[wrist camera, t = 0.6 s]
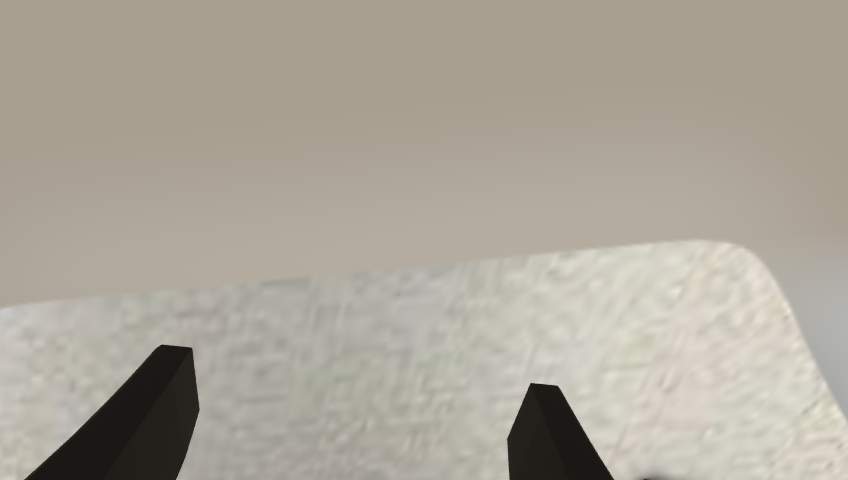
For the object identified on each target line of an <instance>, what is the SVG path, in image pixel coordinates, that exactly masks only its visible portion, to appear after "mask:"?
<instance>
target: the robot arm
mask: <svg viewBox="0 0 848 480" xmlns="http://www.w3.org/2000/svg"><path fill="white" fill-rule="evenodd" d="M199 410H200V409H199V401H198V393H197V385H196V376H195V368H194V360H193V351H192V348H190V347H180V346H170V345H160V346H159V347H157V348H156V349H155V350H154V351H153V352H152V354H151V355H150V356H149V357H148V358H147V359H146V360H145V361H144V362H143V364H142V365H141V366H140V367H139V368H138V369H137V370H136V371H135V372H134V373H133V374H132V376H131V377H130V378H129V379H128V380H127V381H126V382H125V383H124V384H123V385H122V386H121V387H120V388H119V389H118V390H117V391H116V393H115V394H114V395H113V396H112V397H111V398H110V399H109V400H108V401H107V402H106V403H105V404H104V405H103V406H102V407H101V408H100V409H99V410H98V411H97V412H96V413H95V414H94V415H93V416H92V417H91V418H90V419H89V420H88V421H87V422H86V423H85V424H84V425H83V426H82V427H81V428H80V429H79V430H78V431H77V432H76V433H75V434H74V435H73V436H72V437H70V438H69V439H68V440H67V441H66V442H65V443H64V444H63V445H62V446H61V447H60V448H59V449H58V450H56V451H55V452H54V453H53V454H52V455H51V456H50V457H49V458H48V459H47V460H45V461H44V462H43V463H42V464H41V465H40V466H39V467H38V468H37V469H36V470H35V471H33V472H32V473H31V474H30V475H29V476H28V477H27V478H26V479H24V480H176V478H177V476H178V474H179V471H180V469H181V467H182V464H183V462H184V459H185V457H186V453H187V450H188V447H189V444H190V441H191V437H192V434H193V431H194V427H195V424H196V420H197V417H198V413H199ZM507 441H508V462H509V477H510V480H614V479H613V477H612V476H611V474H610V472H609V471H608V469H607V468H606V466H605V465H604V463H603V461H602V460H601V458H600V457H599V455H598V453H597V452H596V450H595V448H594V447H593V445H592V443H591V442H590V440H589V438H588V437H587V435H586V433H585V432H584V430H583V428H582V426H581V425H580V423H579V421H578V420H577V418H576V416H575V414H574V413H573V411H572V409H571V407H570V406H569V404H568V402H567V400H566V398H565V397H564V395H563V393H562V391H561V390H560V388H559V387H558V386H555V385H545V384H535V383H530V386H529V388H528V391H527V393H526V395H525V398H524V400H523V402H522V405H521V407H520V410H519V412H518V414H517V417H516V419H515V422H514V424H513V426H512V429H511V431H510V434H509V436H508V438H507Z"/></svg>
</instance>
